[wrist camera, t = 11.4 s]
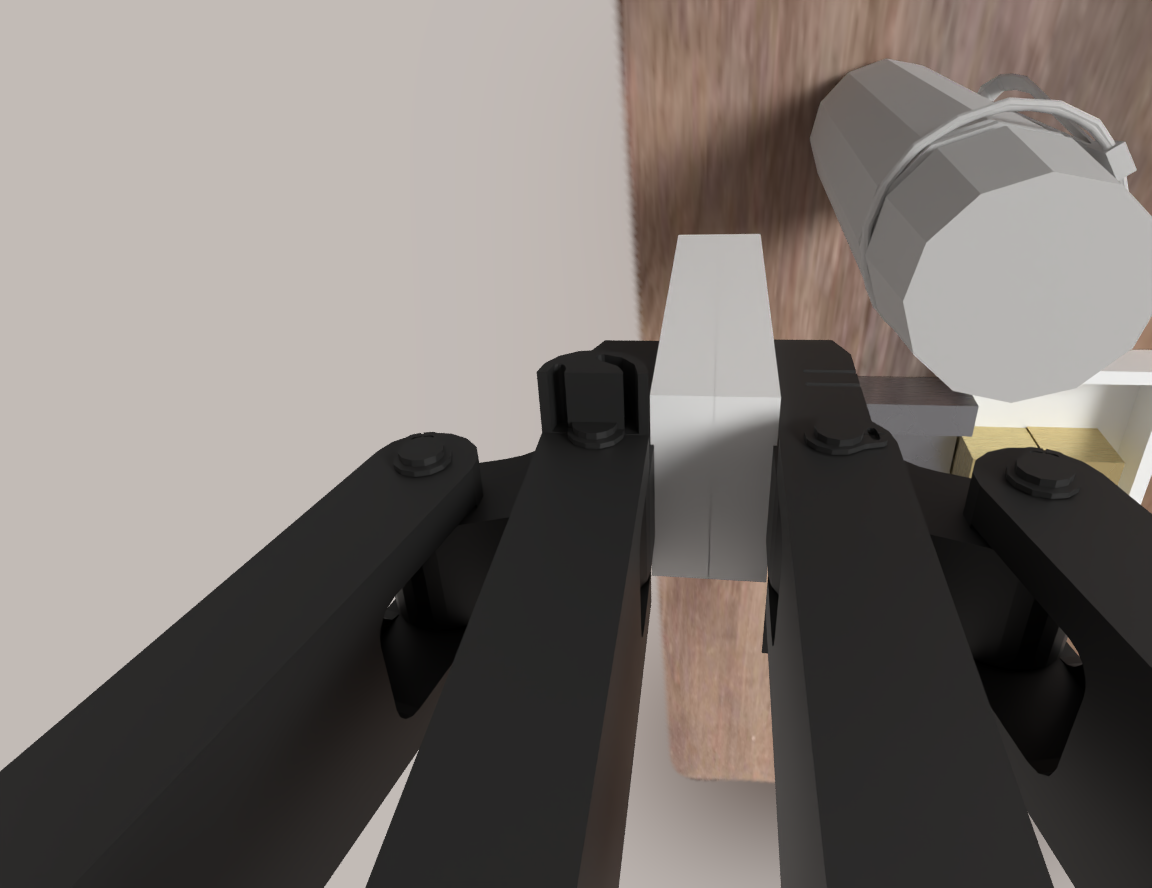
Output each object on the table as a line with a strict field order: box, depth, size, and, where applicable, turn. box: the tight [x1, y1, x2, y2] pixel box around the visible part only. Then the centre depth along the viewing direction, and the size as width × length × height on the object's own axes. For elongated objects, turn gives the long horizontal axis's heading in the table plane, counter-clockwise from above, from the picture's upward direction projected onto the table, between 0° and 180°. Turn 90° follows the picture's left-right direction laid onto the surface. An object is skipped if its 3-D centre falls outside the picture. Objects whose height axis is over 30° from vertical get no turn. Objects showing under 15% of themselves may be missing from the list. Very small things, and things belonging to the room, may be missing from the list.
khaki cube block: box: [1026, 426, 1125, 486], centre depth 48 cm, size 4×4×4 cm
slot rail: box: [858, 376, 979, 474], centre depth 51 cm, size 10×12×4 cm
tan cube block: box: [949, 426, 1038, 478], centre depth 49 cm, size 4×4×4 cm
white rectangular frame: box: [973, 350, 1152, 505], centre depth 49 cm, size 14×10×3 cm
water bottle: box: [810, 59, 1152, 403], centre depth 32 cm, size 9×8×25 cm
